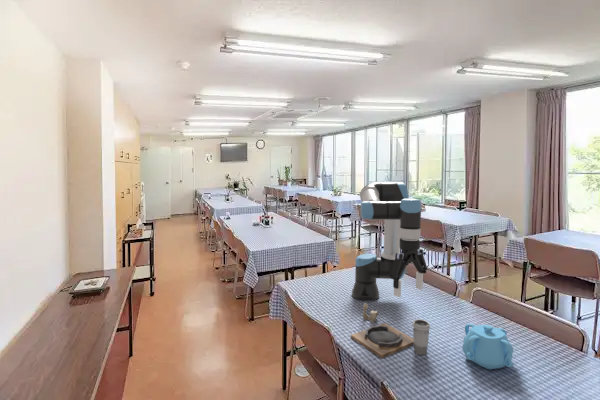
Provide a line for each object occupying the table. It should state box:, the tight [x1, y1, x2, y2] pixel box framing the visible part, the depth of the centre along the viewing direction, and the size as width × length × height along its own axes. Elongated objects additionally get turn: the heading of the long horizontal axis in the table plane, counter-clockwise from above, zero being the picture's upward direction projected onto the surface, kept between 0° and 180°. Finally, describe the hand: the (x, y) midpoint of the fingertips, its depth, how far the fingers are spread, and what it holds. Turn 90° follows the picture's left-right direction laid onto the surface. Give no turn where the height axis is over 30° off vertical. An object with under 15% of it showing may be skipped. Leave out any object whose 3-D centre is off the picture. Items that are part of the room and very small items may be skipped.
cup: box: [411, 318, 431, 356], centre depth 129 cm, size 7×7×12 cm
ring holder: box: [350, 322, 414, 359], centre depth 138 cm, size 20×18×3 cm
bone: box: [362, 303, 379, 324], centre depth 156 cm, size 9×6×10 cm
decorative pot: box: [462, 323, 514, 370], centre depth 123 cm, size 16×16×14 cm
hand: (408, 292), depth 129 cm, fingers open, 13 cm apart
